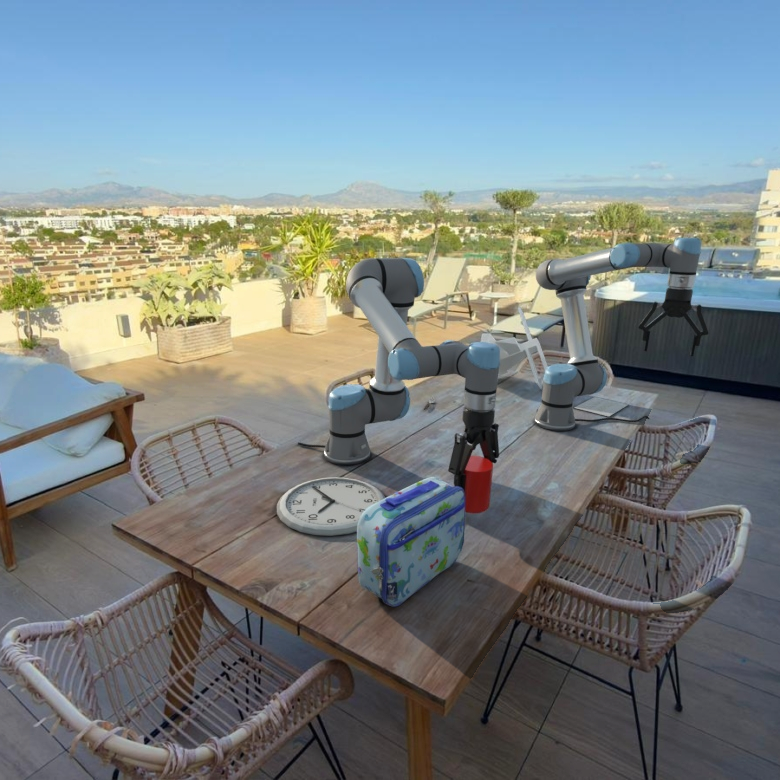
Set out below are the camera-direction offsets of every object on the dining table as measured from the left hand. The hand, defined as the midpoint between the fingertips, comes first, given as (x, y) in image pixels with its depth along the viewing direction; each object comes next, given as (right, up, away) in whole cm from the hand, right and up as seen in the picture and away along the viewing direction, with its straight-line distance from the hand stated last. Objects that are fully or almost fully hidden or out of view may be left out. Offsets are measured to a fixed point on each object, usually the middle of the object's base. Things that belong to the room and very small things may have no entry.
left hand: (472, 490), depth 132 cm
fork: (-4, +19, +91) cm, 93 cm away
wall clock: (-37, -6, +10) cm, 38 cm away
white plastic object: (+36, +29, +125) cm, 134 cm away
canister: (0, -4, +1) cm, 4 cm away
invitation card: (+71, +18, +94) cm, 119 cm away
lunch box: (-16, -16, -19) cm, 29 cm away
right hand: (+71, +38, +40) cm, 90 cm away
